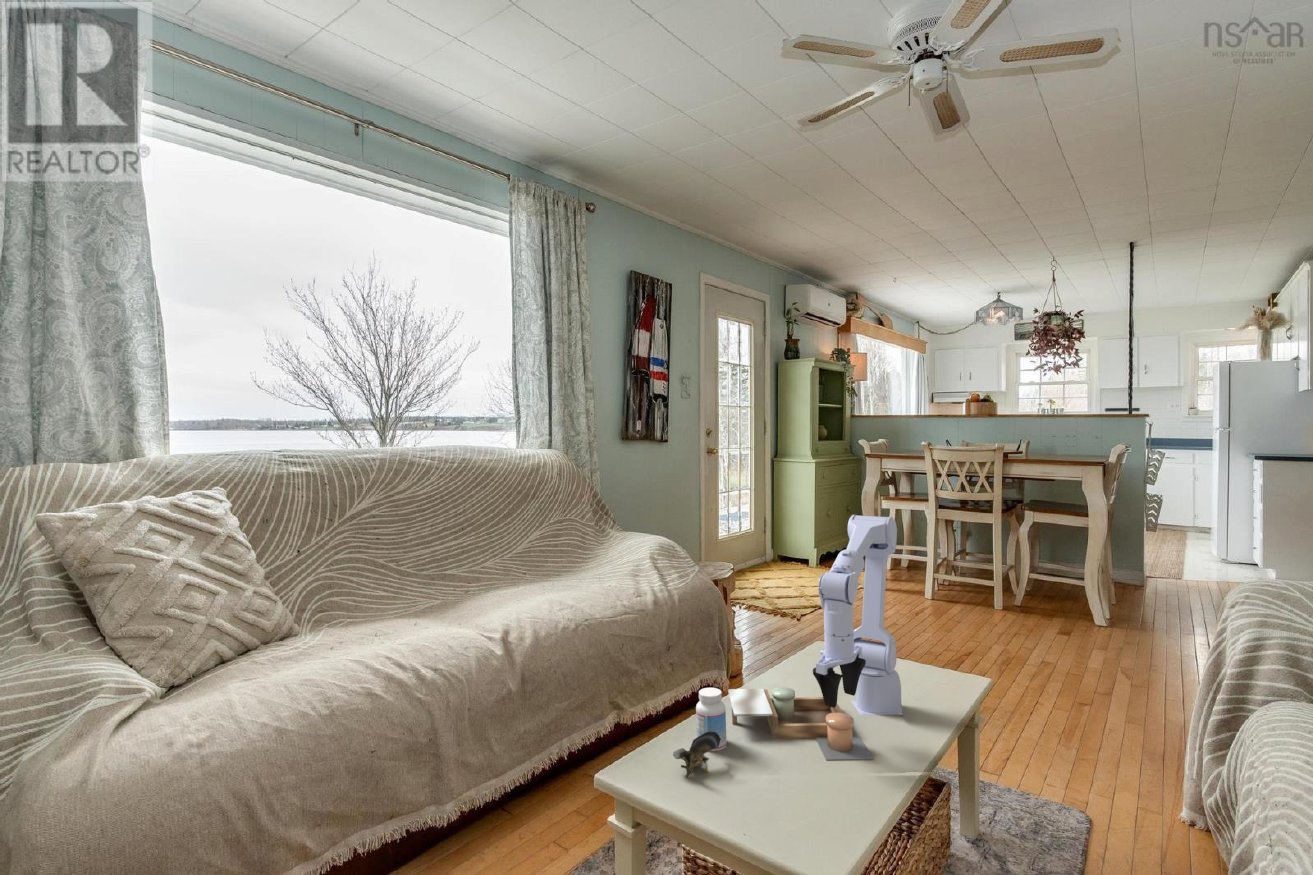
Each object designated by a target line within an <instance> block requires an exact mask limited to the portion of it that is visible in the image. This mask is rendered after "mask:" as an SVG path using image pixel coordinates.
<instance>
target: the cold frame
mask: <svg viewBox="0 0 1313 875" xmlns="http://www.w3.org/2000/svg"><path fill="white" fill-rule="evenodd" d="M727 693H728V696H729V700H730V704H731V720H732V722H731V723H732V725H738V717H760V716H761V717H763V716H764V717H766V721H767V723H768V726H769V729H770V732H771V735H772V738H773V739H781V738H782V739H785V738H786V739H787V738H788V739H791V738H793V739H794V738H795V739H797V738H815V737H828V735H827V724H826V715H828V714H830V713H844V712H843V710H842V709H841V707H840V706H839V704H838V703H837V704H836V707H835V708H833V707H830V706H827V705H825V702H824V699H823V696H819V697H816V696H813V697H812V696H811V697H808V696H807V697H795V698H794V718H793V719H791V720H779V719H778V715H777V713H776V710H775V708H774V697H771V696H770V693H769V690H768V689H764V688H729V689H727Z"/></svg>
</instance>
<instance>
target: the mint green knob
mask: <svg viewBox="0 0 1313 875" xmlns="http://www.w3.org/2000/svg"><path fill="white" fill-rule="evenodd" d="M771 694H772V695H771V696H772V698H774V708H775V710H776V713H777V715H778V719H779V720H791V719H793V718H794V698H796V691H795V690H794V689H793V688H790V687H787V686H786V687H785V686H779V687H778V686H777V687H774V688H773V689H772V690H771Z"/></svg>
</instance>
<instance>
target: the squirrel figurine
mask: <svg viewBox="0 0 1313 875" xmlns="http://www.w3.org/2000/svg"><path fill="white" fill-rule="evenodd" d="M720 740H721V738H720V737H719V735H718V734H717V733H716V732H706V733H704V734H702V735H700V736H698V737H697V736H696V738H694V739H693V740H692V742H691V745H690V747H689V750H686V749H685V748H684V747H683V748H682V747H681V748H679V749H676V750H674V751H673V752H672V755H673V757H674V759H675V760H682V761H684V762H685V765H683V764H681V765H680V768H682V769H683V768H684V769H685V771H686V774H685V778H686V779H688V778H689V777H690V776H691V775H692V773H693V771H694V768H696V767H700V768H701V769H703V770H704V771H705V772H707V773H709V770H708V765H707V764H706V763H705V761H704V760H703V759H708V760H709V759H710V758H709V757H707V756H705V754H707V753H710V752H712V751H711V750H712V749H715V748H717V747H718V746H719V743H720Z"/></svg>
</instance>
